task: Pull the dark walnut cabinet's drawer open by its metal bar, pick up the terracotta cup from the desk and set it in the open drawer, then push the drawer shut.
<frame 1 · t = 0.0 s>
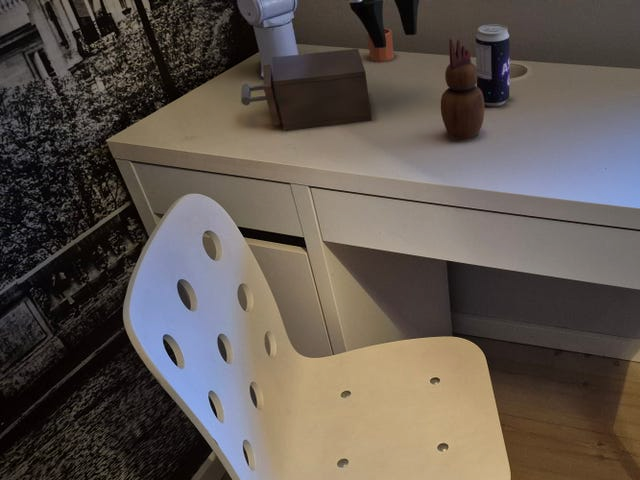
hand: (396, 40, 111), 11 cm above the table, tool pointing down, fingers open, 7 cm apart
cabinet: (326, 112, 116), on the table
cup: (382, 57, 136), on the table
drawer: (296, 91, 113), point 4 cm above the table, slide at 0.5 cm
wooden figurine: (463, 136, 108), on the table
beverage can: (493, 102, 118), on the table
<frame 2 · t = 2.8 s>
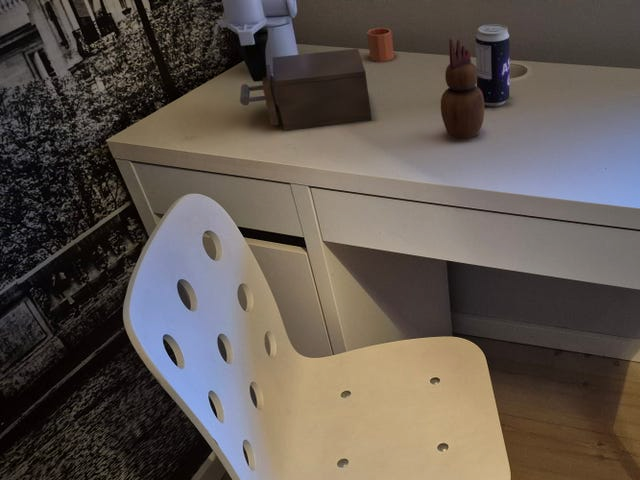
hand: (260, 80, 110), 7 cm above the table, tool pointing down, fingers closed, pressing on drawer
drawer: (295, 91, 113), point 4 cm above the table, slide at 0.7 cm, touching gripper
everything else where it was.
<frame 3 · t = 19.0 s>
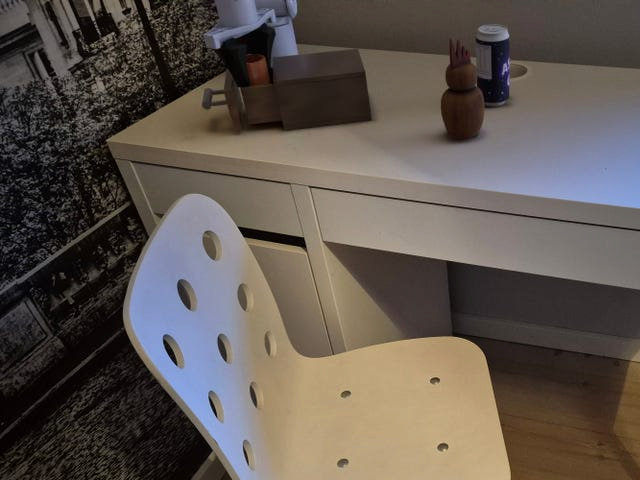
hand: (254, 81, 110), 6 cm above the table, tool pointing down, fingers closed on cup, 5 cm apart
cup: (257, 90, 111), point 5 cm above the table, touching gripper
drawer: (258, 95, 112), point 4 cm above the table, slide at 6.7 cm
everything else where it was.
when the fingers open (7 cm above the table, at t = 24.7 s): cup drops 4 cm, resting on drawer.
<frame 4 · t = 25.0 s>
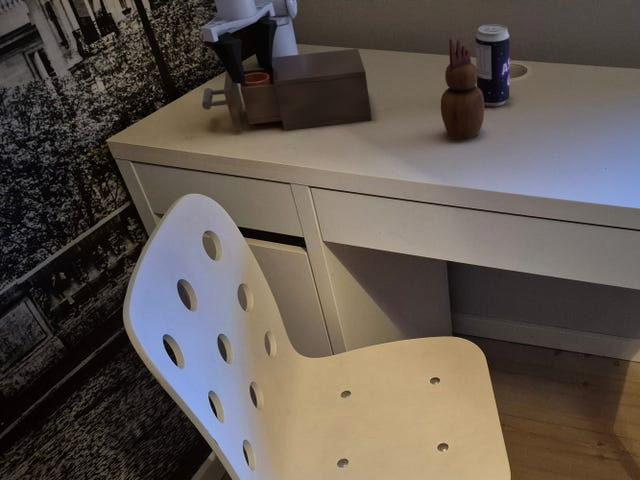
hand: (252, 75, 109), 7 cm above the table, tool pointing down, fingers open, 6 cm apart
cup: (261, 107, 113), point 2 cm above the table, touching drawer
drawer: (258, 95, 112), point 4 cm above the table, slide at 6.7 cm, touching cup
everything else where it was.
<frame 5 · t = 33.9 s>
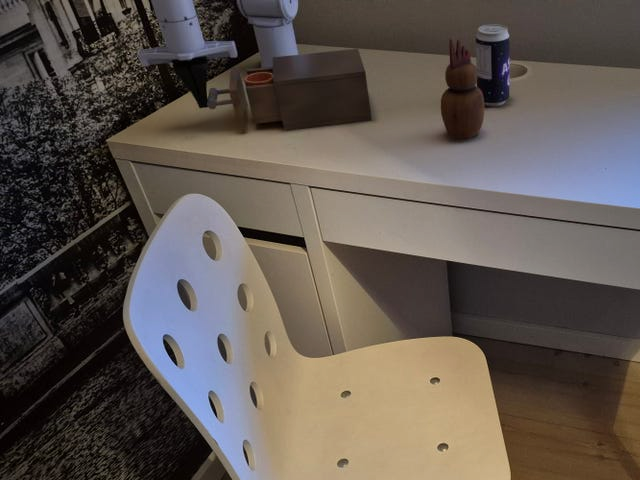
hand: (204, 105, 111), 3 cm above the table, tool pointing down, fingers closed
drawer: (263, 95, 112), point 4 cm above the table, slide at 5.9 cm, touching cup, gripper
everything else where it was.
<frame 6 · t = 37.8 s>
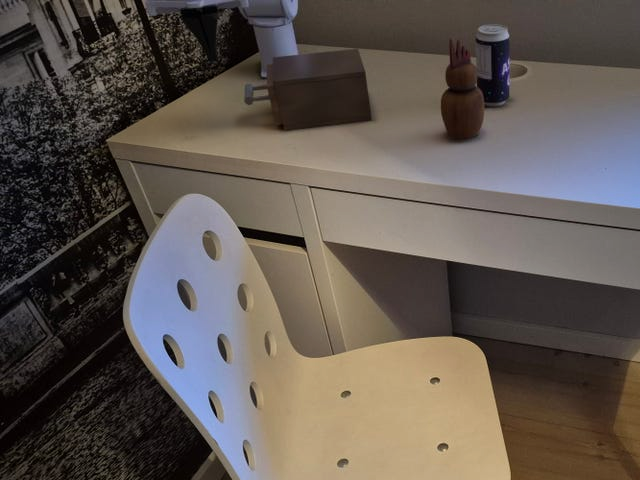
hand: (213, 59, 106), 10 cm above the table, tool pointing down, fingers closed
cup: (301, 103, 114), point 2 cm above the table, touching drawer
drawer: (299, 91, 113), point 4 cm above the table, slide at 0.0 cm, touching cup
everything else where it was.
at the end: drawer pulled out 7.0 cm at the most during the clip, back to where it started at the end; cup inside the target area in the cabinet (3.8 cm from its centre), point 2.0 cm above the cabinet's base; drawer slide at 0.0 cm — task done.
